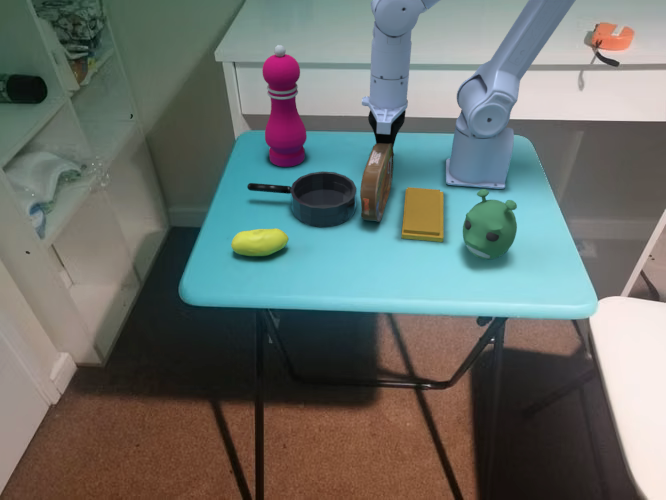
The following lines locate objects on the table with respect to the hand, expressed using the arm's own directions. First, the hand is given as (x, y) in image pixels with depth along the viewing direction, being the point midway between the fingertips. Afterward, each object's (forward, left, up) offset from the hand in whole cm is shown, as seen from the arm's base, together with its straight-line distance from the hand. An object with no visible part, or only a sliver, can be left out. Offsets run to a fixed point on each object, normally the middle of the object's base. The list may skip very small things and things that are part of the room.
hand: (384, 153), depth 89 cm
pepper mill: (+17, -3, -5) cm, 18 cm away
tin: (0, +8, -5) cm, 9 cm away
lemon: (+15, +23, -5) cm, 28 cm away
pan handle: (+17, +11, -2) cm, 20 cm away
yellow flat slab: (-7, +11, -4) cm, 13 cm away
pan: (+8, +11, -4) cm, 14 cm away
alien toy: (-16, +19, -5) cm, 25 cm away
